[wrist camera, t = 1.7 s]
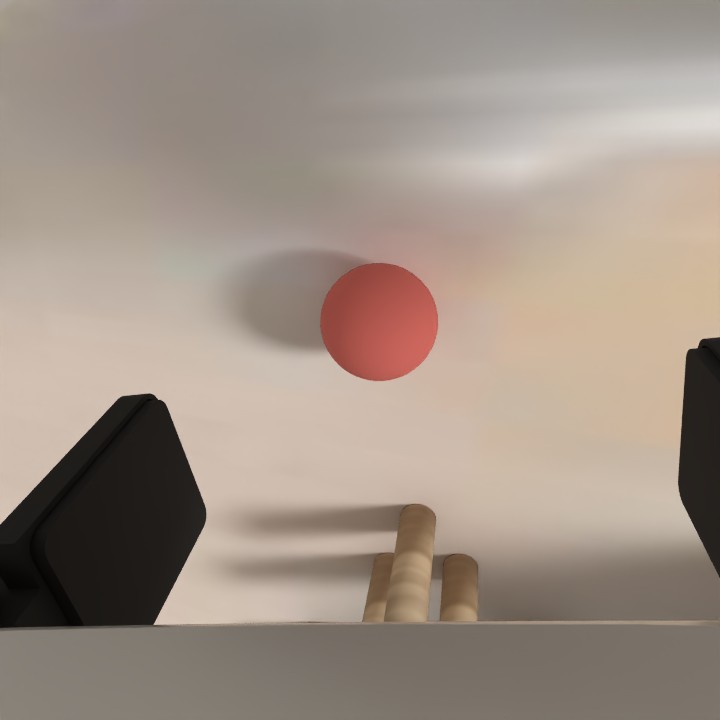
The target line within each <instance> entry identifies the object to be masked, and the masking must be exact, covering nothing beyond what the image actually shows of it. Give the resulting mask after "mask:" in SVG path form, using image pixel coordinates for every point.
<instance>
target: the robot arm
mask: <svg viewBox="0 0 720 720" xmlns="http://www.w3.org/2000/svg"><path fill="white" fill-rule="evenodd" d="M678 486H679V492H680V497H681V500H682V503H683V505H684V507H685V509H686V511H687V513H688V515H689V517H690V519H691V521H692V523H693V525H694V527H695V529H696V531H697V533H698V535H699V537H700V539H701V541H702V543H703V545H704V547H705V549H706V551H707V553H708V555H709V557H710V559H711V561H712V563H713V565H714V567H715V569H716V571H717V573H718V575H719V577H720V337H718V338H708V339H702V340H701V341H700V343H699V346H698V348H696V349H689V350H688V352H687V355H686V366H685V382H684V398H683V413H682V429H681V445H680V460H679V476H678ZM205 521H206V508H205V505H204V502H203V499H202V497H201V494H200V491H199V489H198V486H197V484H196V481H195V478H194V476H193V473H192V471H191V468H190V465H189V463H188V460H187V458H186V455H185V452H184V450H183V447H182V445H181V442H180V439H179V437H178V434H177V432H176V429H175V426H174V424H173V421H172V419H171V416H170V413H169V411H168V408H167V406H166V404H165V403H164V402H163V401H162V400H158V399H157V398H156V397H155V396H154V395H153V394H140V395H130V396H122V397H120V398H119V399H118V400H117V401H116V402H115V403H114V404H113V405H112V406H111V407H110V408H109V409H108V410H107V412H106V413H105V414H104V415H103V416H102V417H101V418H100V419H99V420H98V421H97V422H96V423H95V424H94V425H93V426H92V428H91V429H90V430H89V431H88V432H87V433H86V434H85V435H84V436H83V437H82V438H81V439H80V440H79V441H78V442H77V443H76V445H75V446H74V447H73V448H72V449H71V450H70V451H69V452H68V453H67V454H66V455H65V456H64V457H63V458H62V459H61V461H60V462H59V463H58V464H57V465H56V466H55V467H54V468H53V469H52V470H51V471H50V472H49V473H48V474H47V475H46V477H45V478H44V479H43V480H42V481H41V482H40V483H39V484H38V485H37V486H36V487H35V488H34V489H33V490H32V491H31V493H30V494H29V495H28V496H27V497H26V498H25V499H24V500H23V501H22V502H21V503H20V504H19V505H18V506H17V507H16V509H15V510H14V511H13V512H12V513H11V514H10V515H9V516H8V517H7V518H6V519H5V520H4V521H3V522H2V523H1V525H0V720H720V621H717V620H638V621H428V622H327V623H244V624H181V625H153V624H154V623H155V621H156V619H157V617H158V615H159V613H160V611H161V609H162V607H163V605H164V603H165V601H166V599H167V597H168V595H169V593H170V591H171V589H172V588H173V586H174V584H175V582H176V580H177V578H178V576H179V574H180V572H181V570H182V568H183V566H184V564H185V562H186V560H187V558H188V556H189V554H190V553H191V551H192V549H193V547H194V545H195V543H196V541H197V539H198V537H199V535H200V533H201V531H202V529H203V527H204V525H205Z"/></svg>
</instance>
